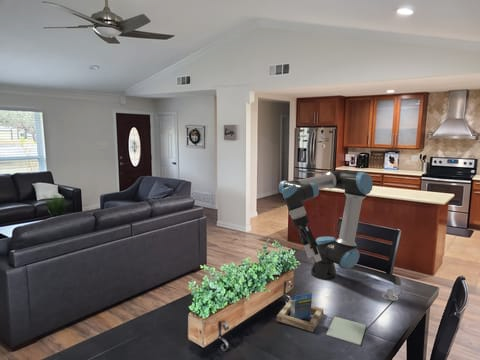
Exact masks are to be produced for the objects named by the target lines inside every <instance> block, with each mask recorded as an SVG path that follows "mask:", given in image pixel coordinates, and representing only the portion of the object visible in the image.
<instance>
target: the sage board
mask: <svg viewBox="0 0 480 360" xmlns="http://www.w3.org/2000/svg"><path fill="white" fill-rule="evenodd" d="M366 329H367V325H366V324H364V323H361V322H357V321H352V320H350V319H346V318H343V317H339V316H334V317H333V319H332V321H331V324H330V326H329V328H328V330H327V332H326V333H325V336H327V337H331V338H334V339H337V340H341V341H344V342H347V343H350V344H353V345H357V346H361V344H362V341H363V337H364V334H365V331H366Z"/></svg>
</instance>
